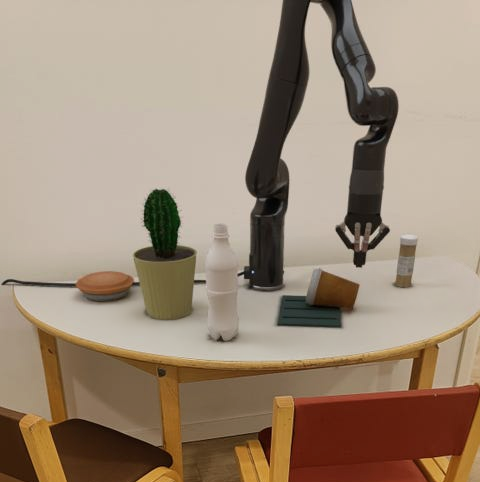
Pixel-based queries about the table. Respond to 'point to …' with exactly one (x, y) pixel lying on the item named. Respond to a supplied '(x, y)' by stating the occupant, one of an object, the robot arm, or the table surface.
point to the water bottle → (222, 286)
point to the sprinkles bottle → (406, 260)
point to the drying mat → (307, 313)
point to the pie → (105, 285)
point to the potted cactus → (165, 260)
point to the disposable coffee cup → (331, 290)
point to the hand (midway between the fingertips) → (358, 266)
